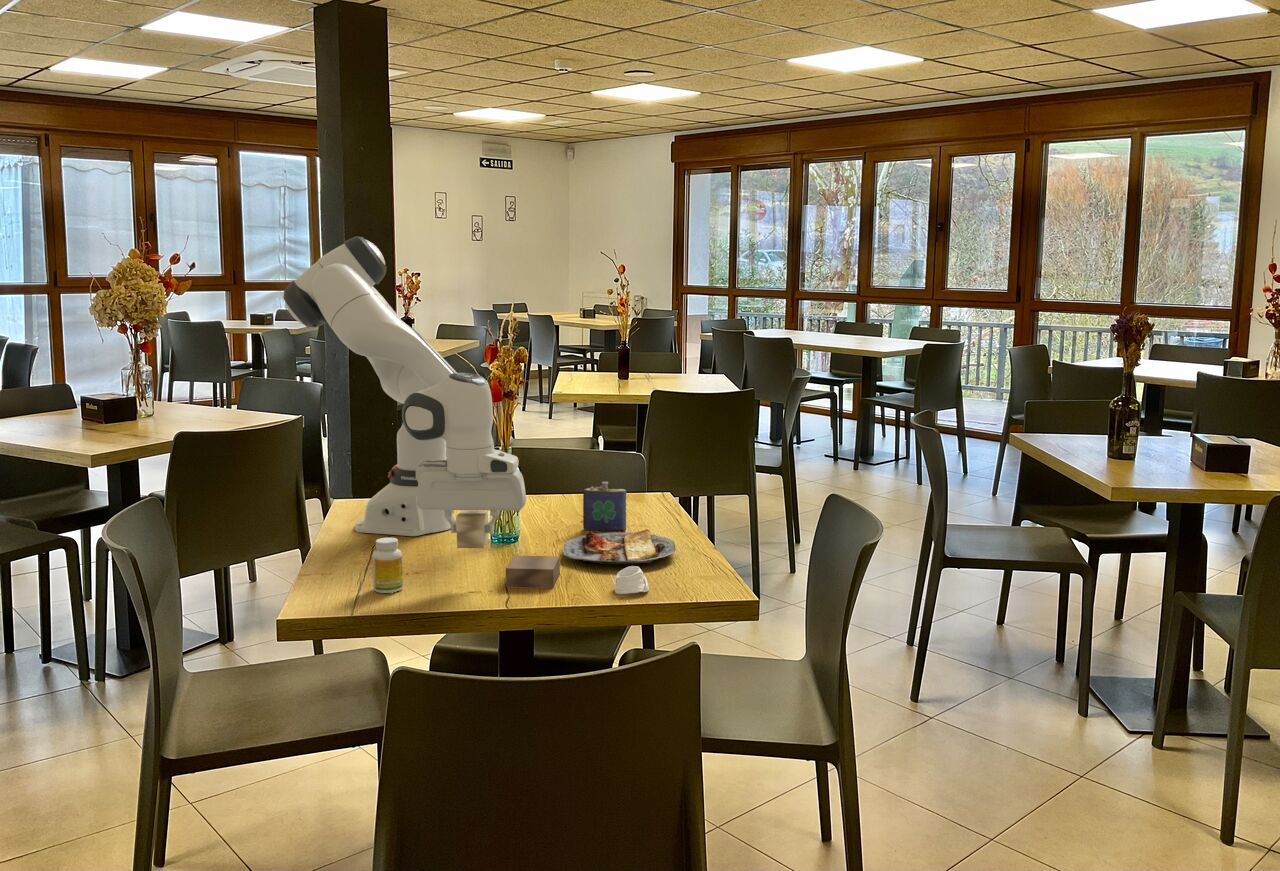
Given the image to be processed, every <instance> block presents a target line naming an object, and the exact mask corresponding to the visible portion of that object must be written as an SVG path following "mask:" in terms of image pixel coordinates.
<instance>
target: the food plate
mask: <svg viewBox="0 0 1280 871" xmlns="http://www.w3.org/2000/svg"><path fill="white" fill-rule="evenodd" d="M675 553H676V545H675V541H674V540H672V539H670V538H667V537H664V536H659V535H655V534H652V533H651V531H650V529H643V530H639V531H636V532H625V531H624V532H622V531H621V532H597V533H595V532H592V531H591V532H588V533H586V534H583V535H580V536H579V535H578V536H577V537H573V538H571V539H570V540H567V541H565V542H564V546H563V550H562V555H564V556H565V557H568V558H570V559H573V560H580V561H583V562H587V561H588V562H591V563H595V564H596V563H597V564H602V565H630V564H642V563H643V564H646V563H647V564H650V563H652V562H653V561H655V560H658V559H660V558H665V557H667V556H670V555H673V554H675Z"/></svg>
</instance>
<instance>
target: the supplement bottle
mask: <svg viewBox="0 0 1280 871" xmlns="http://www.w3.org/2000/svg"><path fill="white" fill-rule="evenodd" d="M398 547H399V539H398V538H396V537H382V538H378V539H376V540H375V548H376V550H374V552H373V553H372V580H373V581H372V585H373V591H374V592H375V591H376V593H377V592H378V594H383V593H390V594H393V593H392V592H395V593H397V592H396V591H399V590H400V591H401V589H402V590H403V588H404V582H403V581H404V579H403V578H404V577H403V575H404V574H403V573H404V572H403V553H402V551H401V550H400V549H399V548H398ZM400 591H399V592H400Z"/></svg>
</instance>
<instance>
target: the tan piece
mask: <svg viewBox="0 0 1280 871" xmlns="http://www.w3.org/2000/svg"><path fill="white" fill-rule="evenodd" d="M488 511H489V510H460V512H459V513H458V514H457V515H456V516H455V521H456V531H457V533H456V549H484V548H485V547H486V546H487V544H488V543H489V533H485V524H486V522H489V518H488V516H489V513H488Z"/></svg>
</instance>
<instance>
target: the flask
mask: <svg viewBox="0 0 1280 871" xmlns="http://www.w3.org/2000/svg"><path fill="white" fill-rule="evenodd" d="M608 485H609V481H602V482H601V485H600V486H590V487H588V488H584V489H583V491H582V493H583V494H582V497H583V498H582V503H583V504H582V505H583V506H582V507H583V508H582V509H583V510H582V512H583V513H582V514H583V515H582V528H583V531H584V532H588V533H589V532H591V531H592V532H593V533H608V532H624V533H625V532H626V530H627V490H626V489H624V488H609V486H608Z"/></svg>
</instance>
